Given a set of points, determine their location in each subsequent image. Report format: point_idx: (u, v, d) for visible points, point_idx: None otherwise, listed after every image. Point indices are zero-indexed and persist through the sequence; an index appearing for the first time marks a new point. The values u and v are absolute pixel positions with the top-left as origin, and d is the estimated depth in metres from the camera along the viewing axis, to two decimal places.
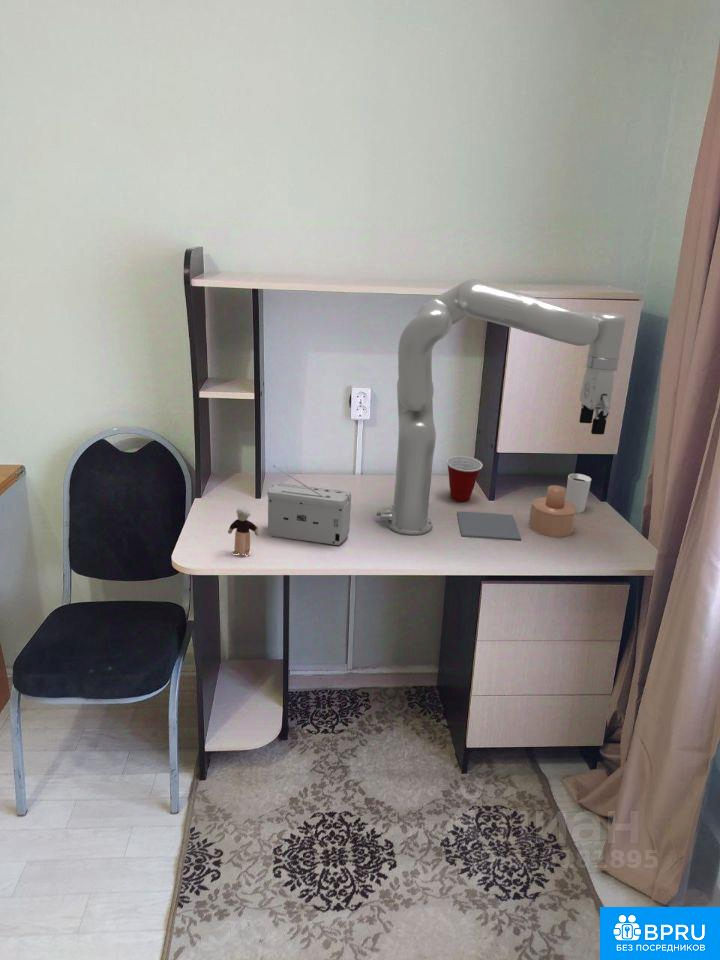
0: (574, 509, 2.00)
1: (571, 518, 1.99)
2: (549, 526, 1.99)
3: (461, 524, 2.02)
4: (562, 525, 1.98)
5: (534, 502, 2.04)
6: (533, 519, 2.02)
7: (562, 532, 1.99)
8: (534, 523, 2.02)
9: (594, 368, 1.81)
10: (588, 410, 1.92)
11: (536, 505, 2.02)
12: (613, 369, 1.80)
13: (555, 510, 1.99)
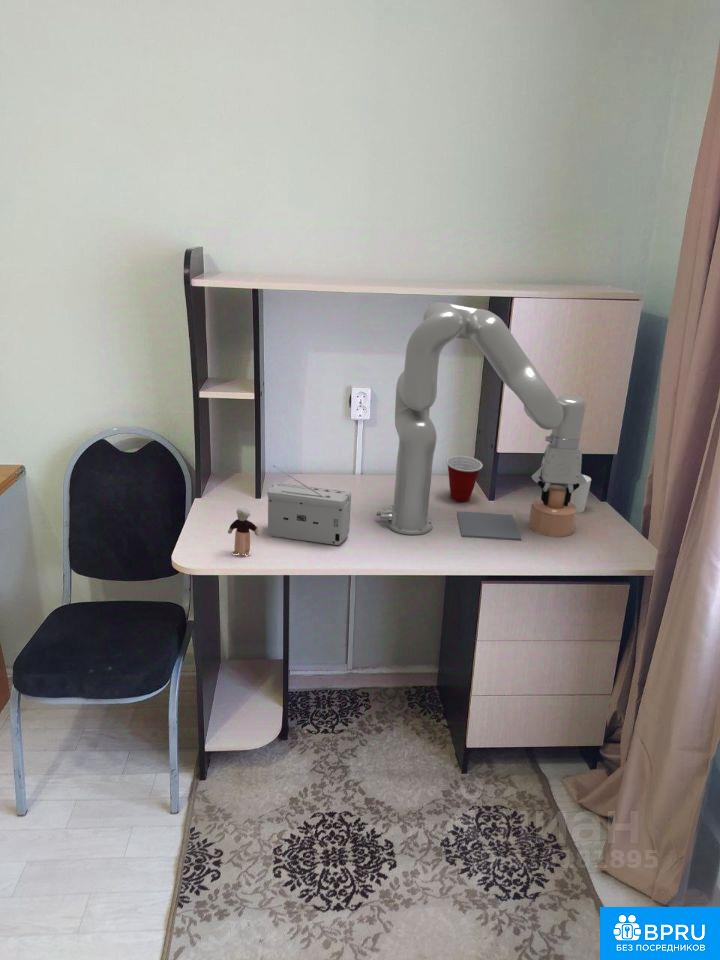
0: (574, 509, 2.00)
1: (571, 518, 1.99)
2: (549, 526, 1.99)
3: (461, 524, 2.02)
4: (562, 525, 1.98)
5: (534, 502, 2.04)
6: (533, 519, 2.02)
7: (562, 532, 1.99)
8: (534, 523, 2.02)
9: (576, 448, 1.94)
10: None
11: (536, 505, 2.02)
12: None
13: (555, 510, 1.99)
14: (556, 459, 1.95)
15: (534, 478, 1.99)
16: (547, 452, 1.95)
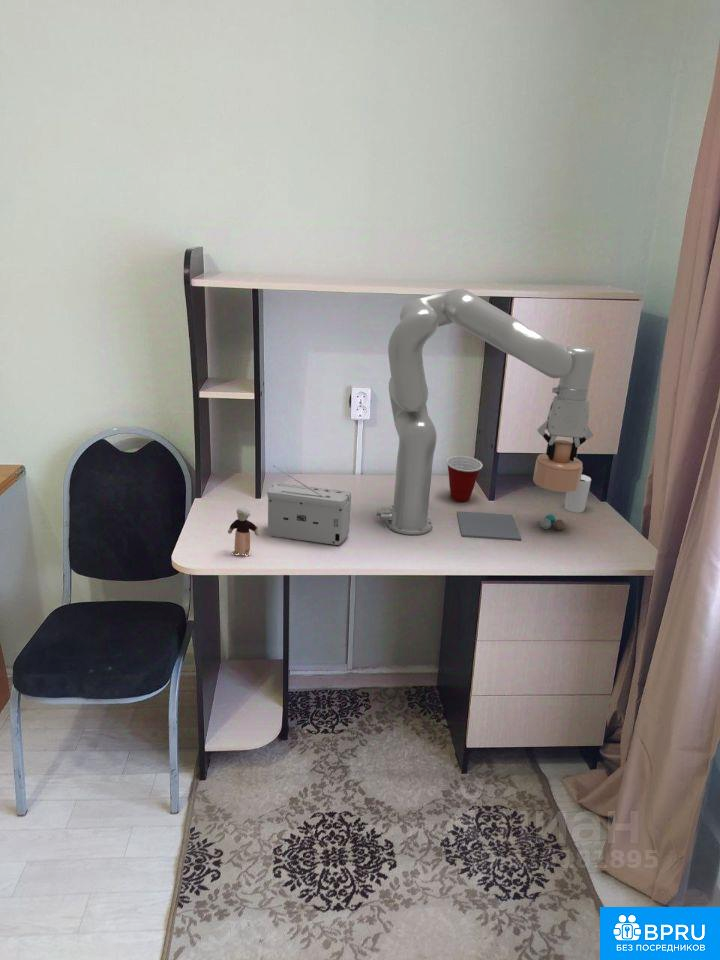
0: (580, 464, 1.96)
1: (577, 473, 1.94)
2: (554, 480, 1.94)
3: (461, 524, 2.02)
4: (567, 480, 1.93)
5: (539, 457, 1.99)
6: (538, 474, 1.97)
7: (567, 487, 1.94)
8: (539, 477, 1.97)
9: (583, 400, 1.89)
10: None
11: (541, 459, 1.97)
12: None
13: (561, 464, 1.94)
14: (563, 411, 1.90)
15: (540, 431, 1.94)
16: (554, 404, 1.91)
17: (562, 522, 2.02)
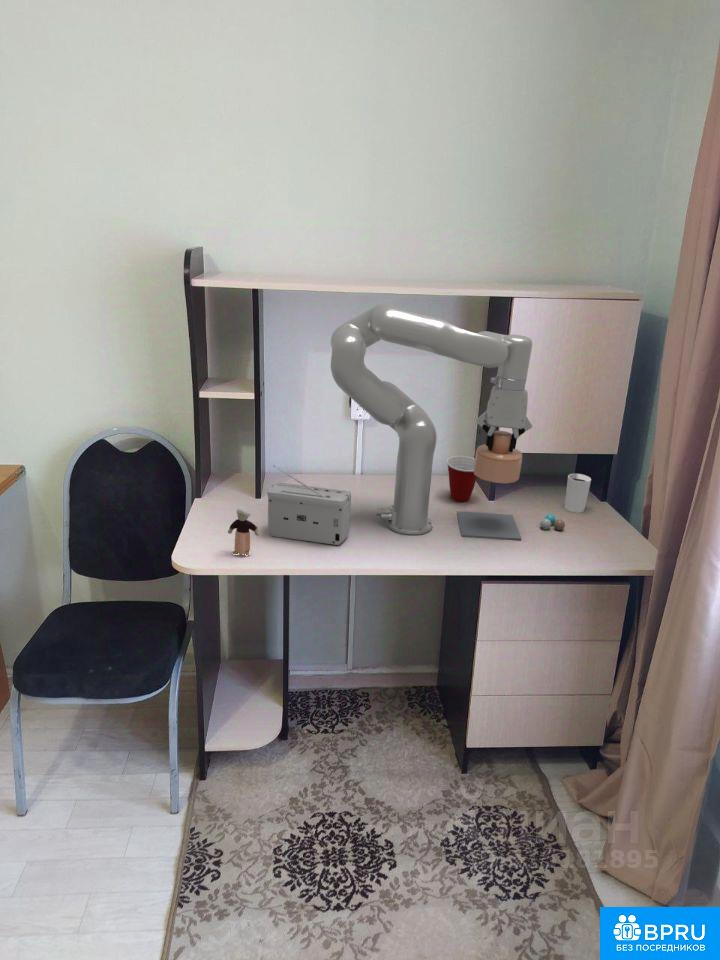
0: (519, 455, 1.94)
1: (515, 464, 1.92)
2: (492, 471, 1.92)
3: (461, 524, 2.02)
4: (506, 471, 1.91)
5: (479, 448, 1.97)
6: (477, 465, 1.95)
7: (506, 478, 1.92)
8: (478, 468, 1.95)
9: (521, 390, 1.87)
10: None
11: (480, 450, 1.95)
12: None
13: (499, 455, 1.92)
14: (501, 401, 1.88)
15: (478, 421, 1.92)
16: (492, 394, 1.88)
17: (562, 522, 2.02)
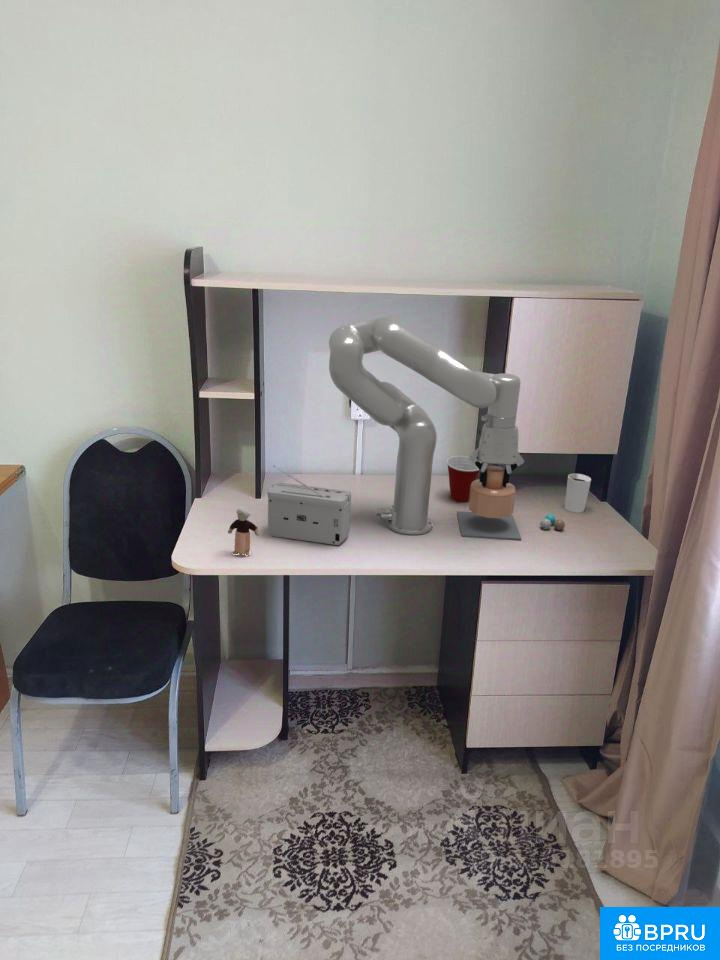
0: (512, 490, 1.97)
1: (509, 499, 1.95)
2: (487, 507, 1.95)
3: (461, 524, 2.02)
4: (500, 506, 1.95)
5: (473, 483, 2.00)
6: (471, 500, 1.99)
7: (500, 513, 1.96)
8: (473, 504, 1.98)
9: (512, 427, 1.90)
10: None
11: (474, 486, 1.98)
12: None
13: (493, 491, 1.96)
14: (492, 439, 1.92)
15: (471, 459, 1.96)
16: (483, 432, 1.92)
17: (562, 522, 2.02)
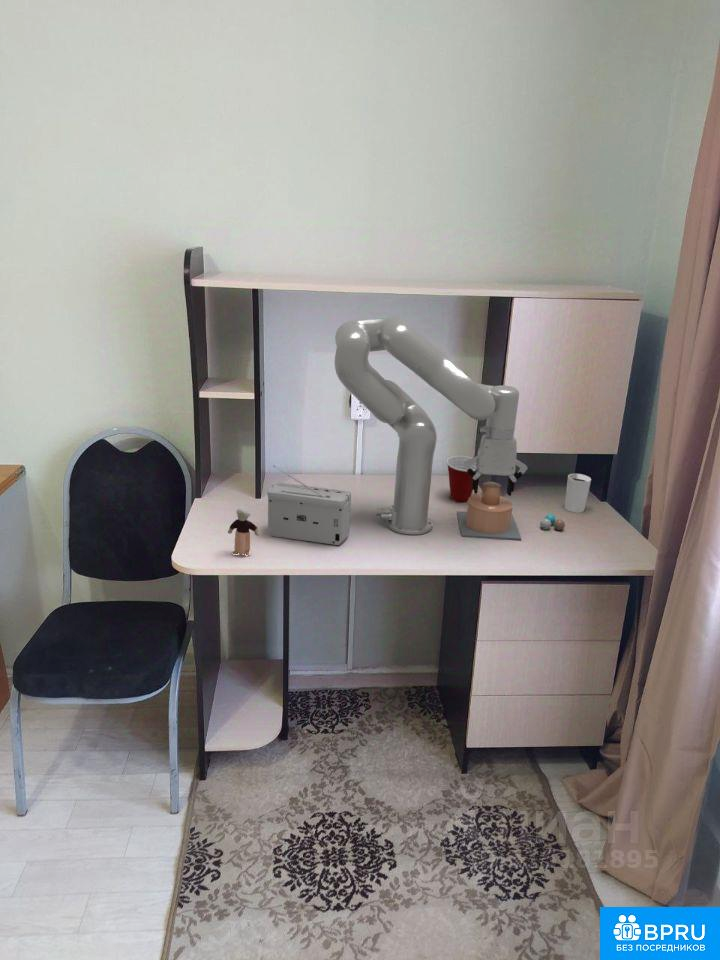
0: (509, 506, 1.99)
1: (505, 515, 1.97)
2: (483, 523, 1.97)
3: (461, 524, 2.02)
4: (496, 522, 1.96)
5: (470, 499, 2.02)
6: (468, 516, 2.00)
7: (497, 529, 1.97)
8: (469, 519, 2.00)
9: (510, 439, 1.91)
10: None
11: (471, 502, 2.00)
12: None
13: (490, 507, 1.97)
14: (490, 450, 1.93)
15: (466, 464, 1.97)
16: (481, 443, 1.93)
17: (562, 522, 2.02)
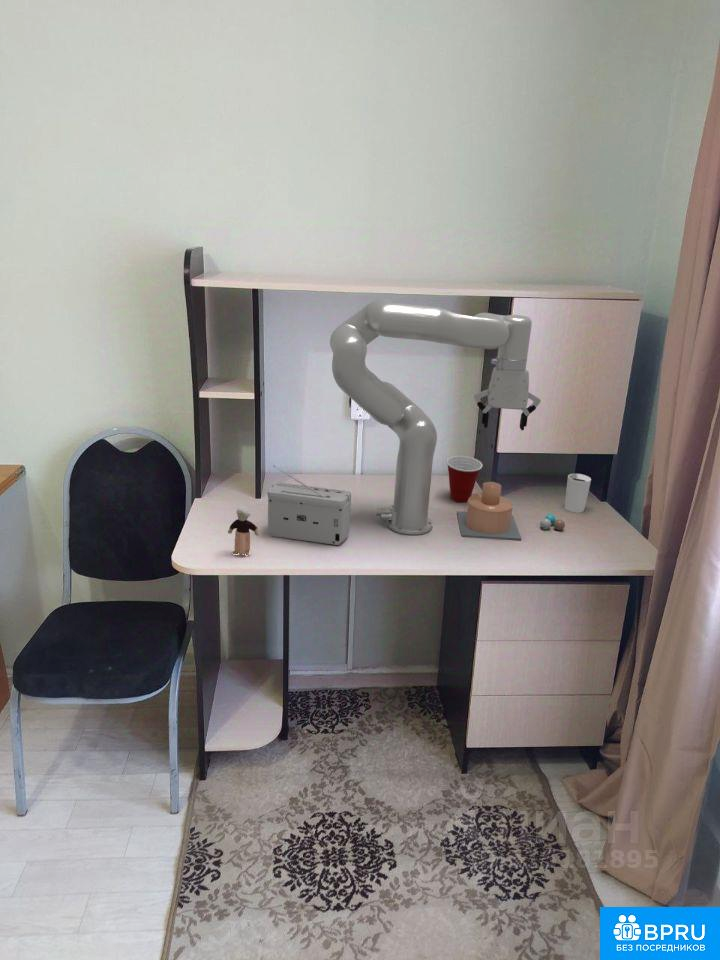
0: (509, 506, 1.99)
1: (505, 515, 1.97)
2: (483, 523, 1.97)
3: (461, 524, 2.02)
4: (496, 522, 1.96)
5: (470, 499, 2.02)
6: (468, 516, 2.00)
7: (497, 529, 1.97)
8: (469, 519, 2.00)
9: (522, 370, 1.86)
10: None
11: (471, 502, 2.00)
12: None
13: (490, 507, 1.97)
14: (502, 382, 1.87)
15: (476, 397, 1.91)
16: (493, 375, 1.88)
17: (562, 522, 2.02)
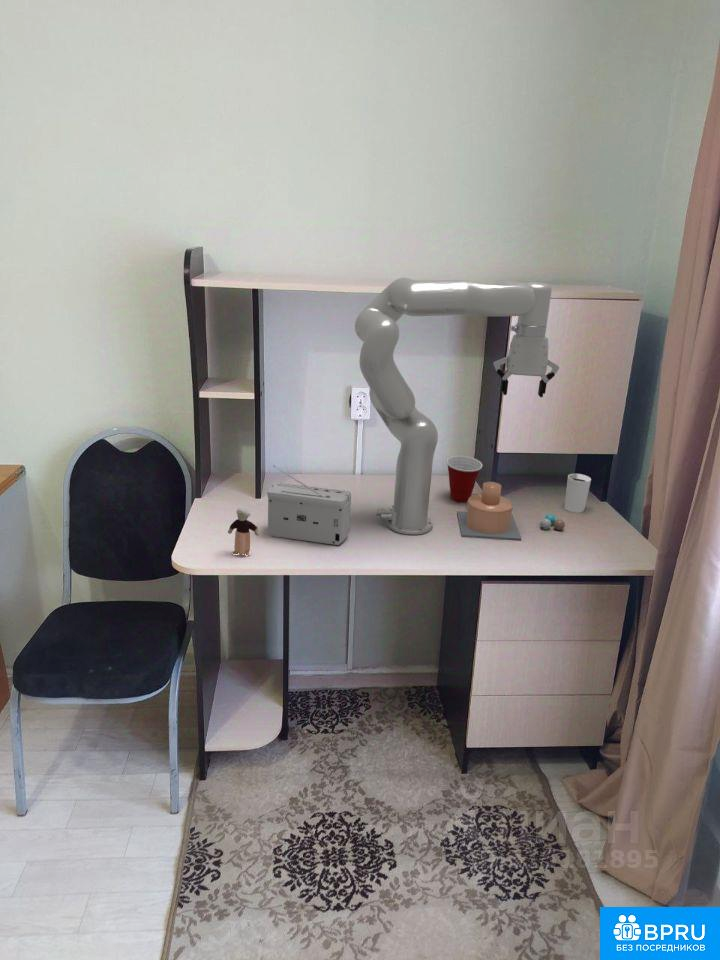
0: (509, 506, 1.99)
1: (505, 515, 1.97)
2: (483, 523, 1.97)
3: (461, 524, 2.02)
4: (496, 522, 1.96)
5: (470, 499, 2.02)
6: (468, 516, 2.00)
7: (497, 529, 1.97)
8: (469, 519, 2.00)
9: (542, 337, 1.88)
10: None
11: (471, 502, 2.00)
12: None
13: (490, 507, 1.97)
14: (522, 349, 1.90)
15: (496, 364, 1.94)
16: (513, 342, 1.90)
17: (562, 522, 2.02)
